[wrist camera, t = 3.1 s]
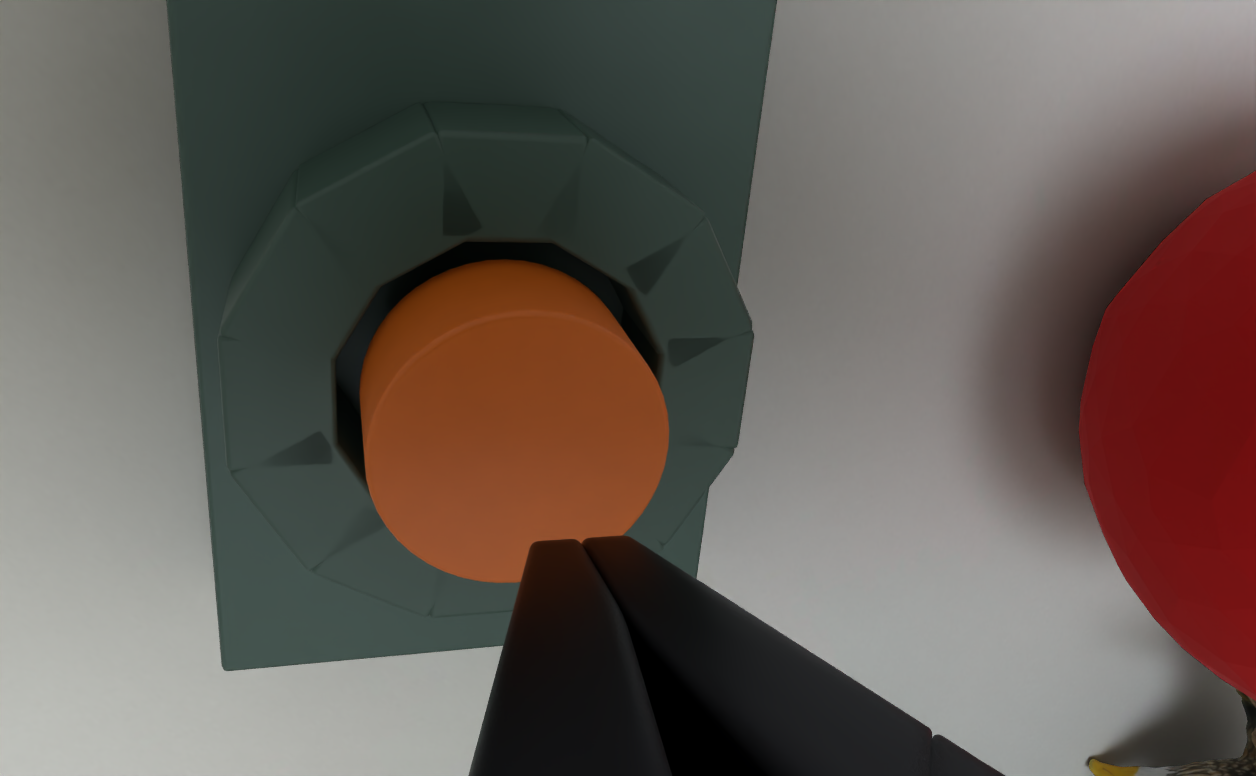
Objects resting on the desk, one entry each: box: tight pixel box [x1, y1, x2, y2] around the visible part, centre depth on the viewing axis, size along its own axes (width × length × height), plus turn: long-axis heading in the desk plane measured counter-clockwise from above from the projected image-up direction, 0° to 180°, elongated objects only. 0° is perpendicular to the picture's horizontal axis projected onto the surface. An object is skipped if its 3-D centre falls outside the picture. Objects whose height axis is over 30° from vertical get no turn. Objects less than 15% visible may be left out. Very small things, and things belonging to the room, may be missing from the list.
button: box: [359, 259, 669, 583], centre depth 12 cm, size 3×3×2 cm
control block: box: [166, 0, 777, 671], centre depth 14 cm, size 10×7×4 cm
